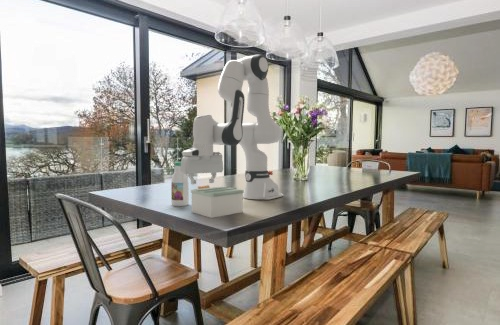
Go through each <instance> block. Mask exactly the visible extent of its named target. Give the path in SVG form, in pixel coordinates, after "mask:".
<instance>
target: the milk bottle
mask: <svg viewBox="0 0 500 325" xmlns="http://www.w3.org/2000/svg"><path fill="white" fill-rule="evenodd" d="M170 186H171V188H170V189H171V206H174V207H185V206H188V205H189V204H190V203H189V200H190V199H189V196H190V194H189V190H190V189H189V176H188V174H183V173H182V172H181V161H175V162H174V172H173V173H172V177H171V185H170Z"/></svg>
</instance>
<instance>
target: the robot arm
mask: <svg viewBox="0 0 500 325" xmlns="http://www.w3.org/2000/svg"><path fill="white" fill-rule="evenodd" d="M268 73H269V61H268V60H267V58H266V56H265V55H264V54H254V55H247V56H244V57H242V58H239V59H231V60H228V61H227V62H226V63H225V66H224V67H223V69H222V72H221V75H220V78H219V81H218V83H217V92H218V95H219V96H220V97H221V99H223V100H224V101H226V102H228V103H230V106H231V109H230V114H229V115H230V116H229V120H228V122H226V123H225V122H223V123H221V122H220V123H219V122H218V121H216V120H215V119H214V118H213V116H212V114H200V115H196V116H195V117H194V119H193V124H192V138H193V142H192V147H191V148H188V149H185V150H183V151H182V152H181V154H182V157H181V160H180V162H181V172H182V173H183V174H187V175H188V179H190V184H191V185H196V184H197V179H194V177H195V174H210V175H211V177H210V178H208V181H209V182H208V183H210V184H214V183H215V178H216V177H217V173H222V172H223V171H224V160H223V154H222V153H221V152H219V151H214V146H215V145H217V146H218V145H219V146H229V147H235V146H238V145H240V147H241V148H242V150H243V152H244V156H245V172H244V176H245V184H244V189H243V190H244V193H243V199H247V200H248V199H249V200H272V199H276V198H280V197H284V194H283V193H281V192H280V187H279V185H278V183H277V182H275V181H274V180H273V179H272V178H271V176H273V175H274V172H273V171H272V170H268V155H267V154H266V153H265V152H264V151H263V150H260V149H259V147H258V145H261V144H262V145H265V144H266V145H270V144H275V143H278V142H280V140H281V138H282V133H283V132H282V128H281V126H280V125H279V123H277V122H276V121H274V119H273V118H272V116H271V114H270V106H269V105H270V104H269V103H270V102H269V99H270V97H269V96H270V93H269V92H270V91H269V81H268V78H267V75H268ZM244 81H247V83H248V84H247V85H248V87H247V94H246V95H247V98H246V100H247V101H246V102H247V103H246V109H247V112H248V113H249V114H250V115H251V116H254V117H256V120H257V122H244V121H243V120H244V113H245V112H244V111H245V94H244V93H243V91H242V89H243V85H244V84H243V83H244Z"/></svg>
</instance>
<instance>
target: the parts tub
mask: <svg viewBox="0 0 500 325" xmlns="http://www.w3.org/2000/svg"><path fill="white" fill-rule="evenodd" d="M243 195H244V193H240V194H232V195H225V196H217V197H208V196H203V195H199V194H194V193H191V212H192V213H194V214H197V215H199V216H200V215H201V216H204V217H207V218H210V219H212V218H213V219H214V218H219V217H224V216H230V215H234V214H239V213H240V214H241V213H244V212H243V211H244V210H243V209H244V204H243V203H244V200H243V199H244V198H243Z"/></svg>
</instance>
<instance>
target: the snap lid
mask: <svg viewBox="0 0 500 325" xmlns="http://www.w3.org/2000/svg"><path fill="white" fill-rule="evenodd" d="M244 190H245V189H239V188H237V187H230V186H223V185H222V186H216V187H215V186H214V187H210V185H209V184H207V185H200V186H199V185H198V186H197V188H196V189H190V193H191V194H192V193H194V194H199V195H203V196H208V197H217V196H225V195H232V194H240V193H243V194H244Z"/></svg>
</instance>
